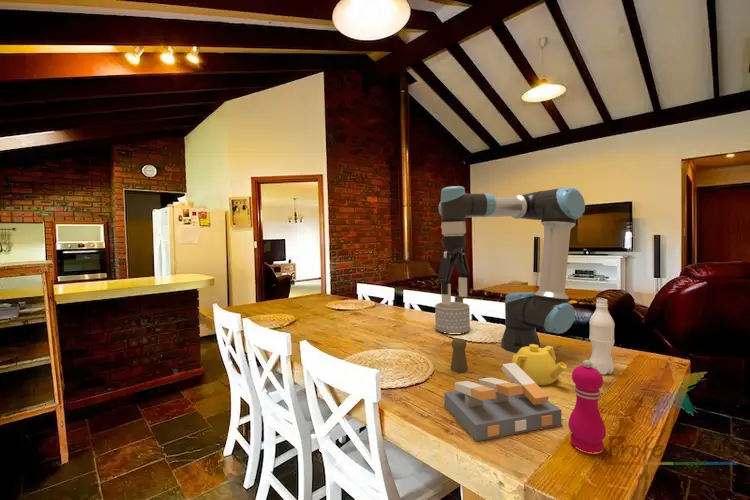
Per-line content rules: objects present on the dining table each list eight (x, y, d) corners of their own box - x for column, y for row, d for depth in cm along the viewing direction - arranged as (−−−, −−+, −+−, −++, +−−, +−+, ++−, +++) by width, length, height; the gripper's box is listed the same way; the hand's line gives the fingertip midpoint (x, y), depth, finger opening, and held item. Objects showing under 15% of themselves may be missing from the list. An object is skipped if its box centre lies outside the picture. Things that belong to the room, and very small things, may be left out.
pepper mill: (561, 437, 81) (561, 355, 80) (590, 435, 81) (590, 353, 80) (582, 458, 73) (583, 367, 72) (613, 455, 74) (615, 365, 73)
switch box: (517, 394, 102) (517, 373, 102) (562, 425, 86) (562, 400, 85) (444, 406, 97) (444, 383, 96) (476, 442, 80) (476, 415, 79)
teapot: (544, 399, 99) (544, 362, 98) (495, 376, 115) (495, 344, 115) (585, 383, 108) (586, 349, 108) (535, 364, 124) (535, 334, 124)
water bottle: (611, 369, 118) (612, 298, 117) (616, 377, 112) (617, 302, 110) (587, 366, 121) (588, 296, 120) (590, 374, 115) (591, 300, 113)
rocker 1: (468, 388, 96) (467, 380, 96) (496, 398, 83) (495, 389, 83) (455, 390, 95) (454, 382, 95) (481, 400, 82) (480, 391, 82)
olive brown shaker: (468, 373, 118) (468, 342, 117) (450, 372, 119) (450, 341, 118) (467, 366, 124) (467, 337, 123) (450, 365, 125) (450, 336, 124)
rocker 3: (513, 368, 100) (514, 362, 99) (547, 402, 87) (548, 396, 86) (501, 370, 99) (502, 364, 98) (533, 404, 86) (535, 398, 85)
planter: (435, 335, 161) (435, 308, 161) (435, 325, 178) (435, 301, 177) (471, 336, 159) (471, 309, 158) (467, 326, 175) (467, 302, 174)
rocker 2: (492, 384, 98) (490, 377, 98) (523, 393, 84) (521, 385, 85) (479, 386, 97) (478, 379, 97) (509, 396, 83) (507, 387, 84)
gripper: (457, 234, 122) (459, 292, 123) (425, 236, 102) (427, 306, 103) (478, 233, 117) (479, 294, 119) (448, 236, 97) (450, 309, 99)
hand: (455, 300), depth 111 cm, fingers open, 13 cm apart
